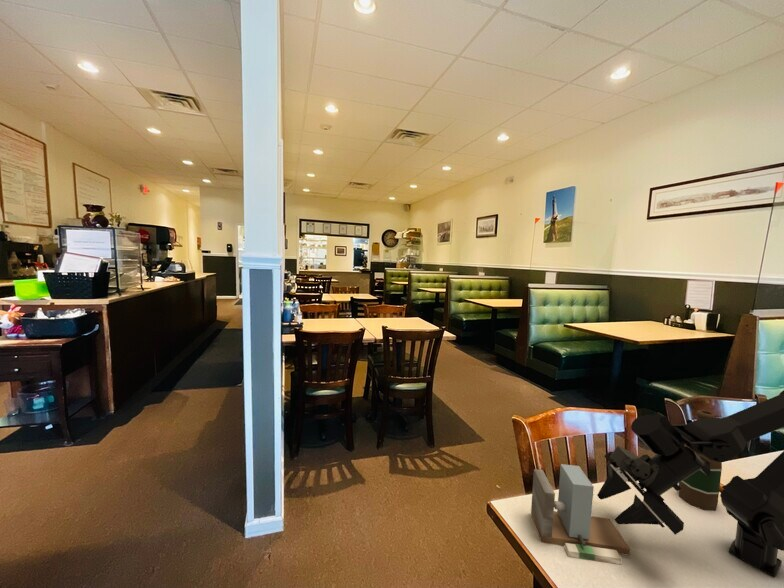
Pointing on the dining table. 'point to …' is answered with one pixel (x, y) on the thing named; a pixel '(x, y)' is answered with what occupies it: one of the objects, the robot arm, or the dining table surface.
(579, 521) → the gauge carriage
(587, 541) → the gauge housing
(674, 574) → the dining table surface
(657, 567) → the dining table surface
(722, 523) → the dining table surface
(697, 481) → the beer bottle
